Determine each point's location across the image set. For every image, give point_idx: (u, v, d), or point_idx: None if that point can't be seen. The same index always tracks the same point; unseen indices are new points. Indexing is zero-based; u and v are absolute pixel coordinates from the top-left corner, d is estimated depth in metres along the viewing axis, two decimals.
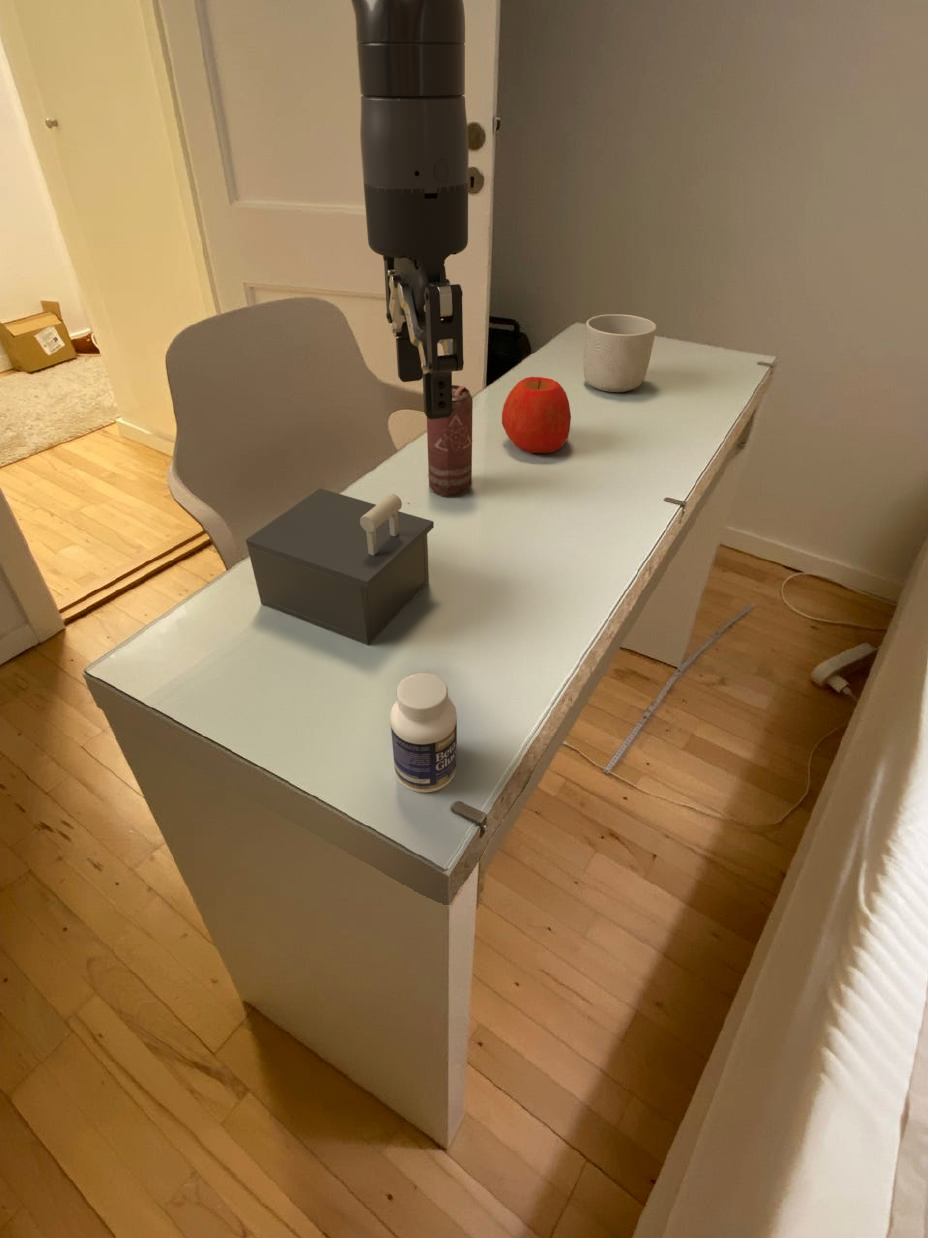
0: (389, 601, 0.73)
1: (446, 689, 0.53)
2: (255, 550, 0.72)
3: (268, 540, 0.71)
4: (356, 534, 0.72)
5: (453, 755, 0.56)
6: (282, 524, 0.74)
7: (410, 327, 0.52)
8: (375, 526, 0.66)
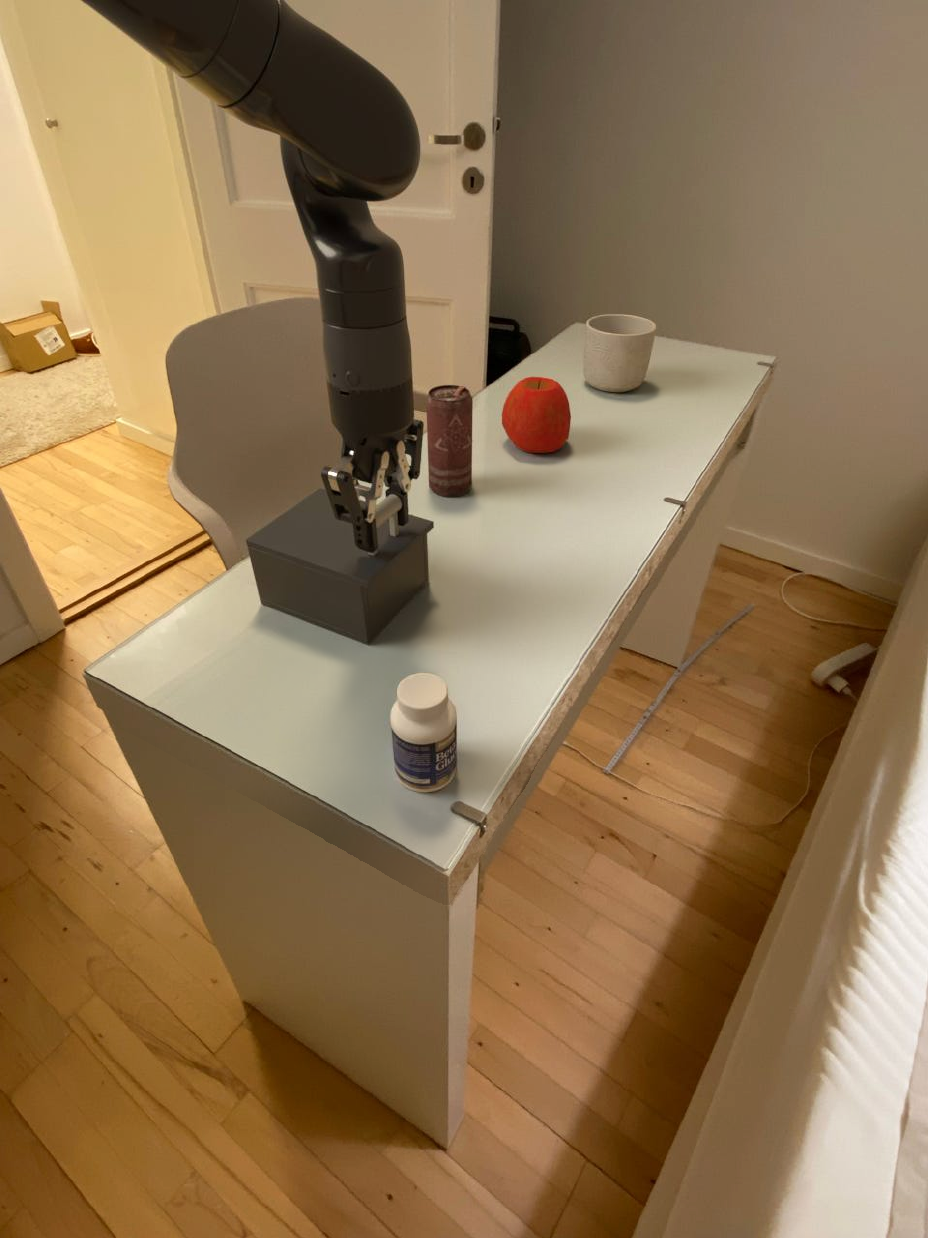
0: (389, 601, 0.73)
1: (446, 689, 0.53)
2: (255, 550, 0.72)
3: (268, 540, 0.71)
4: None
5: (453, 755, 0.56)
6: (282, 524, 0.74)
7: None
8: None
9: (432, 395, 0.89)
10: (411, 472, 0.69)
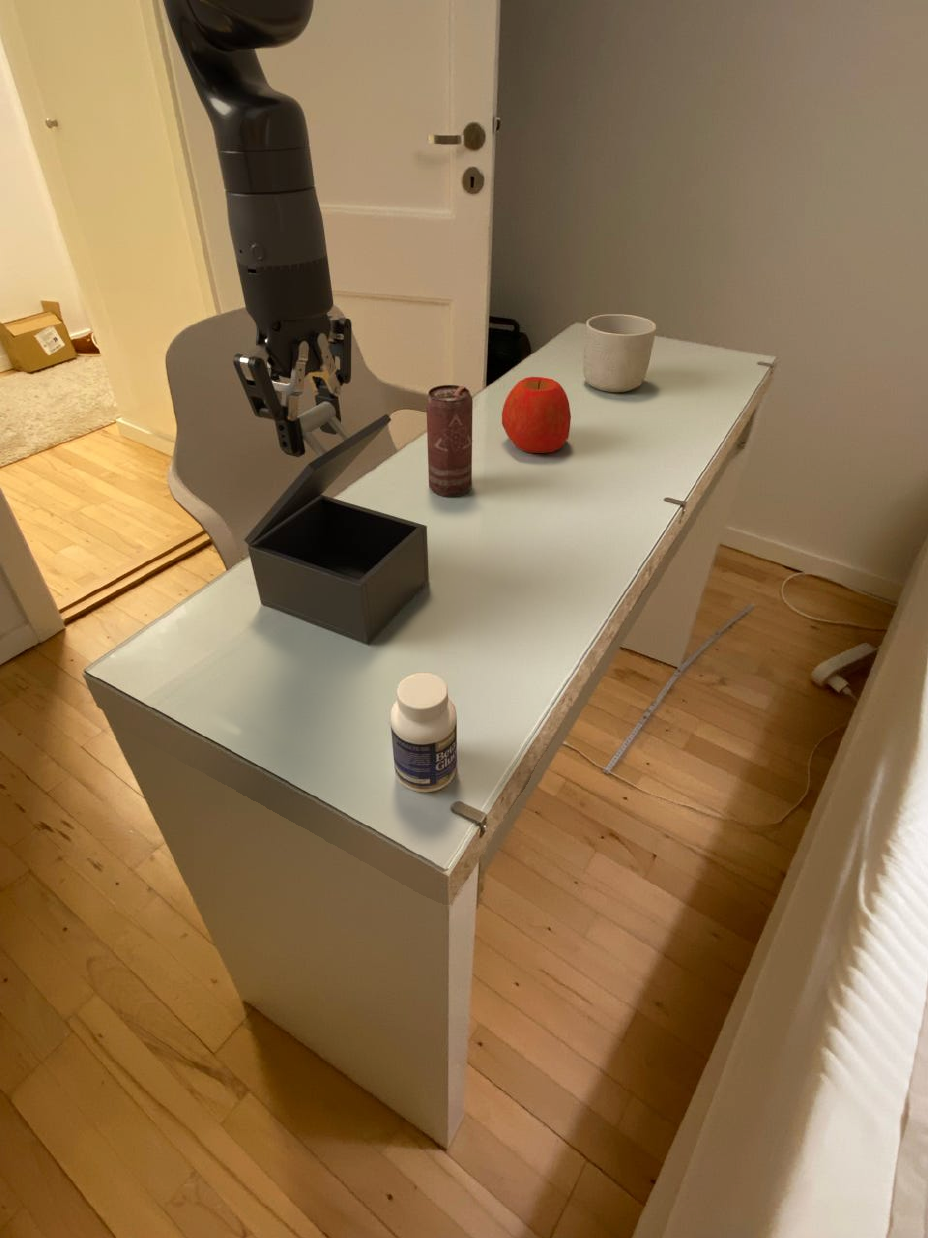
0: (389, 601, 0.73)
1: (446, 689, 0.53)
2: (255, 550, 0.72)
3: None
4: None
5: (453, 755, 0.56)
6: None
7: None
8: (301, 423, 0.63)
9: (432, 395, 0.89)
10: (341, 375, 0.67)
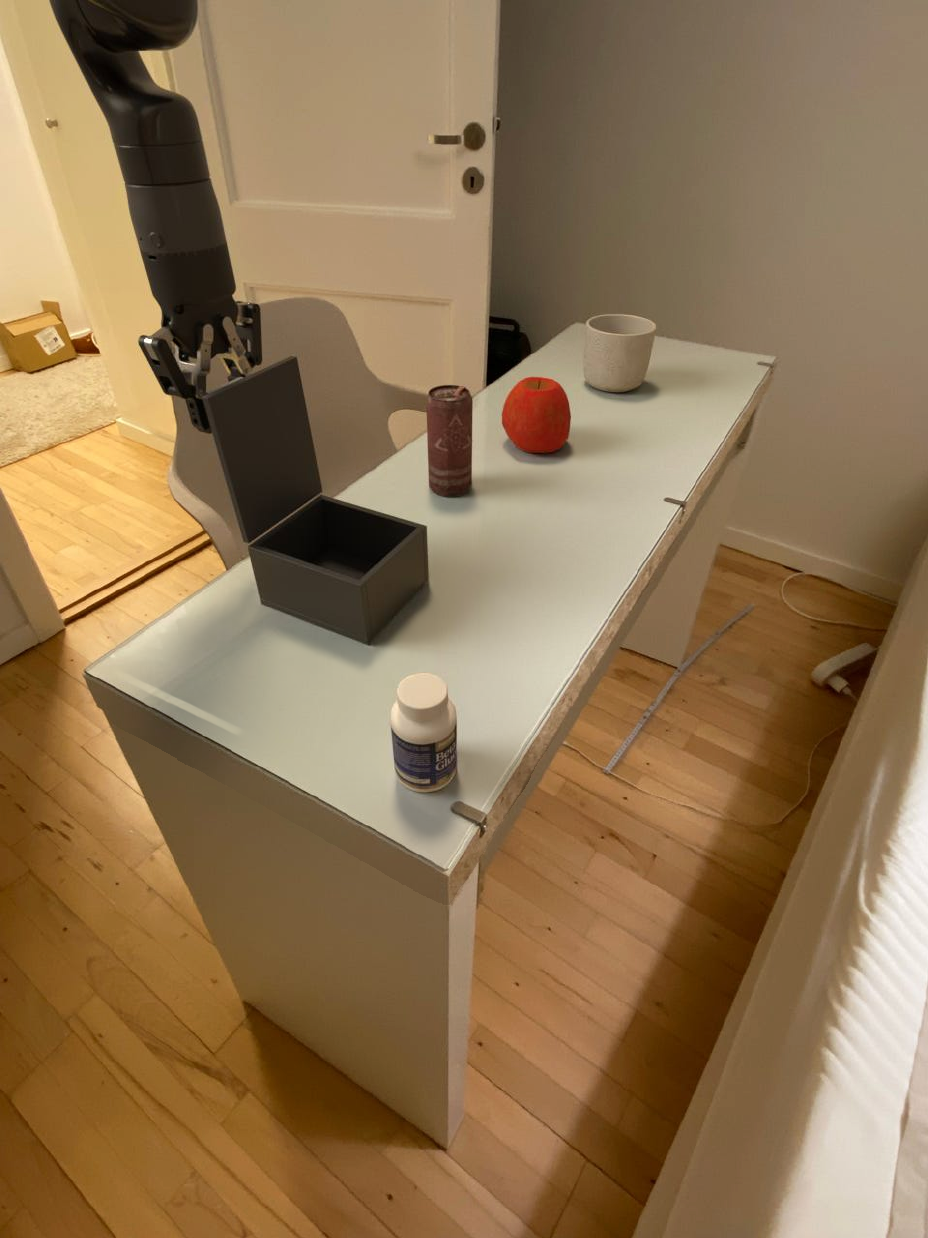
0: (389, 601, 0.73)
1: (446, 689, 0.53)
2: (255, 550, 0.72)
3: None
4: None
5: (453, 755, 0.56)
6: None
7: None
8: (208, 392, 0.67)
9: (432, 395, 0.89)
10: (251, 357, 0.71)
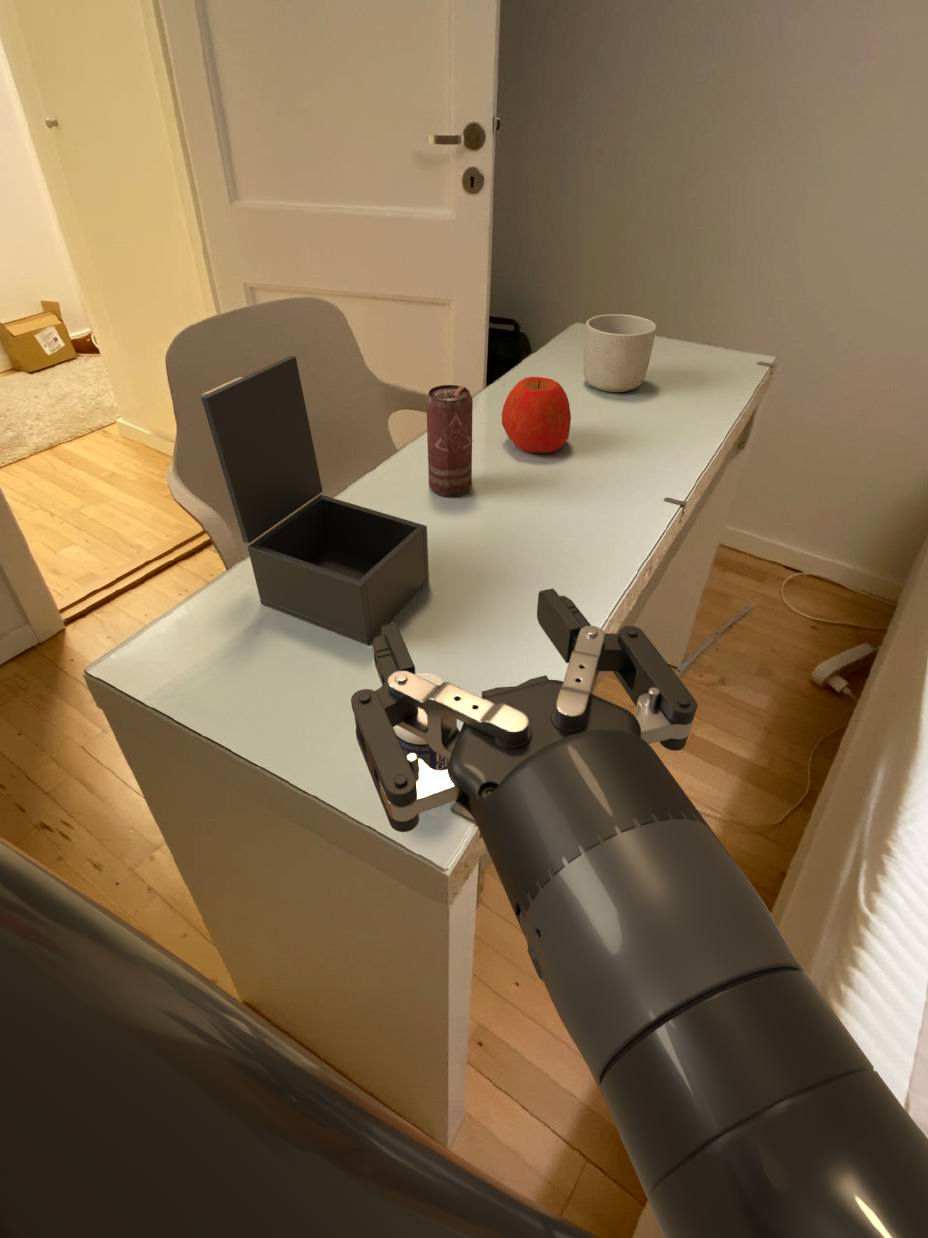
0: (389, 601, 0.73)
1: None
2: (255, 550, 0.72)
3: None
4: None
5: None
6: None
7: (455, 699, 0.29)
8: (207, 392, 0.67)
9: (432, 395, 0.89)
10: (618, 672, 0.34)
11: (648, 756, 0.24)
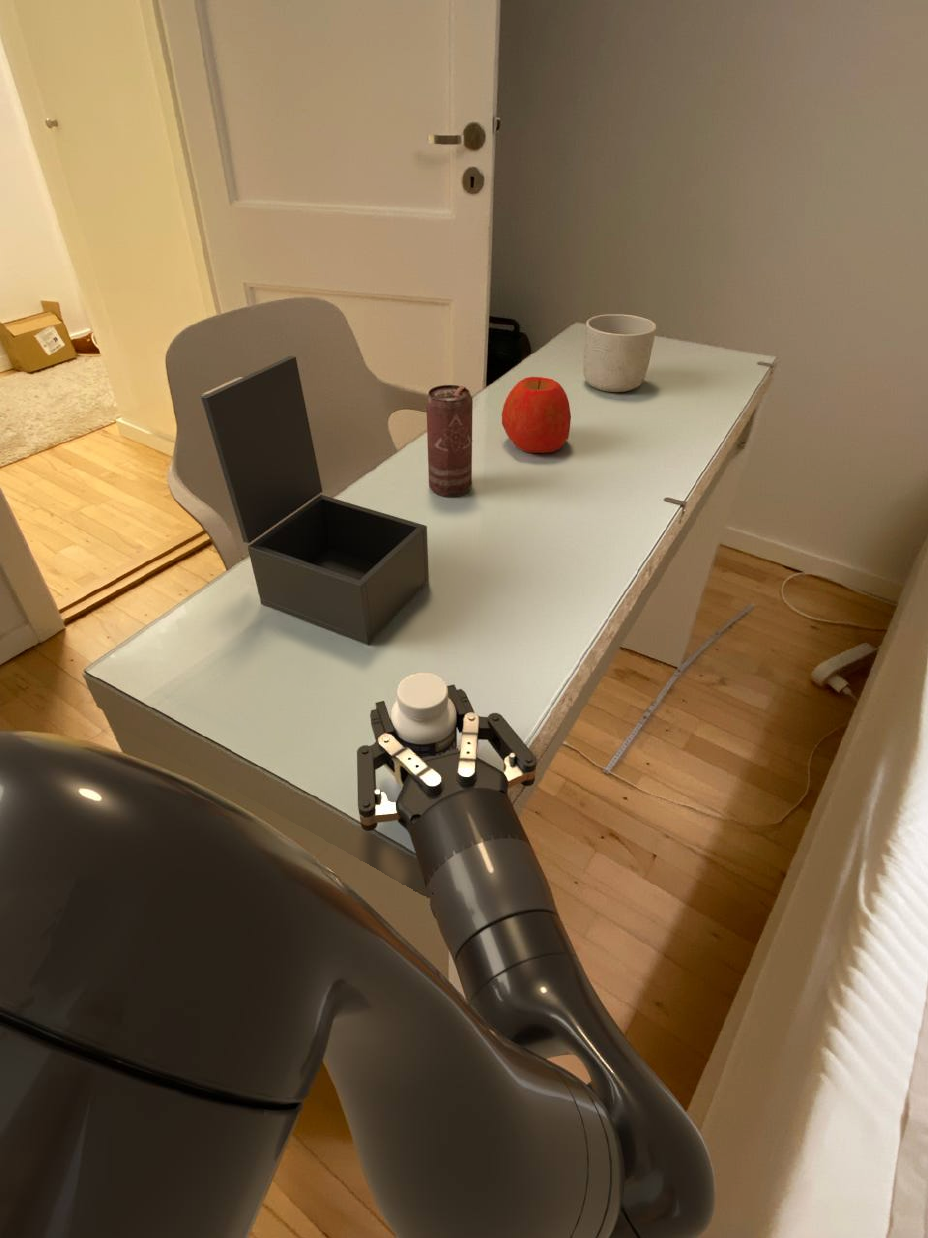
0: (389, 601, 0.73)
1: (446, 689, 0.53)
2: (255, 550, 0.72)
3: None
4: None
5: None
6: None
7: (408, 759, 0.50)
8: (207, 392, 0.67)
9: (432, 395, 0.89)
10: (489, 740, 0.55)
11: (499, 803, 0.46)
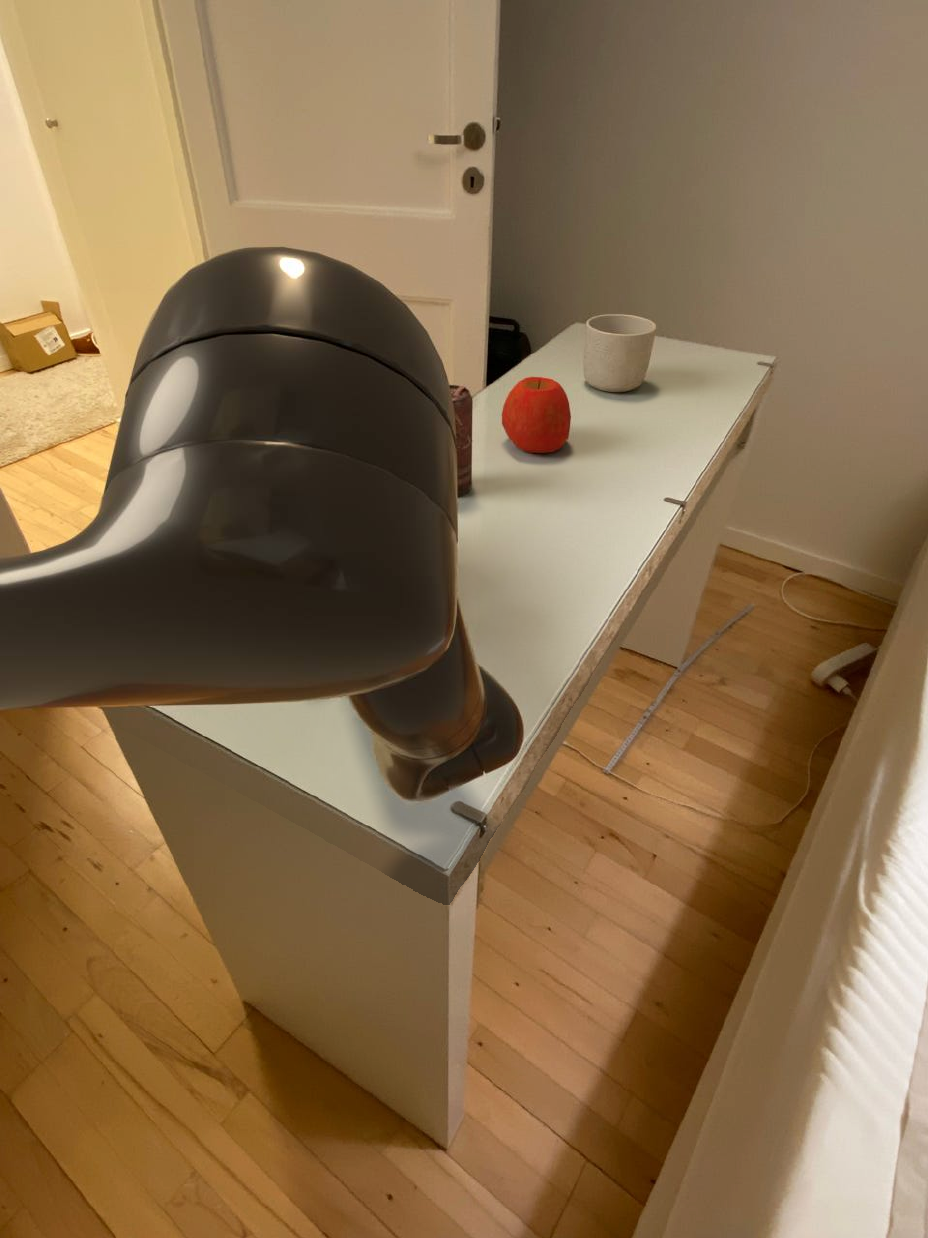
0: None
1: None
2: None
3: None
4: None
5: None
6: None
7: None
8: None
9: None
10: None
11: None
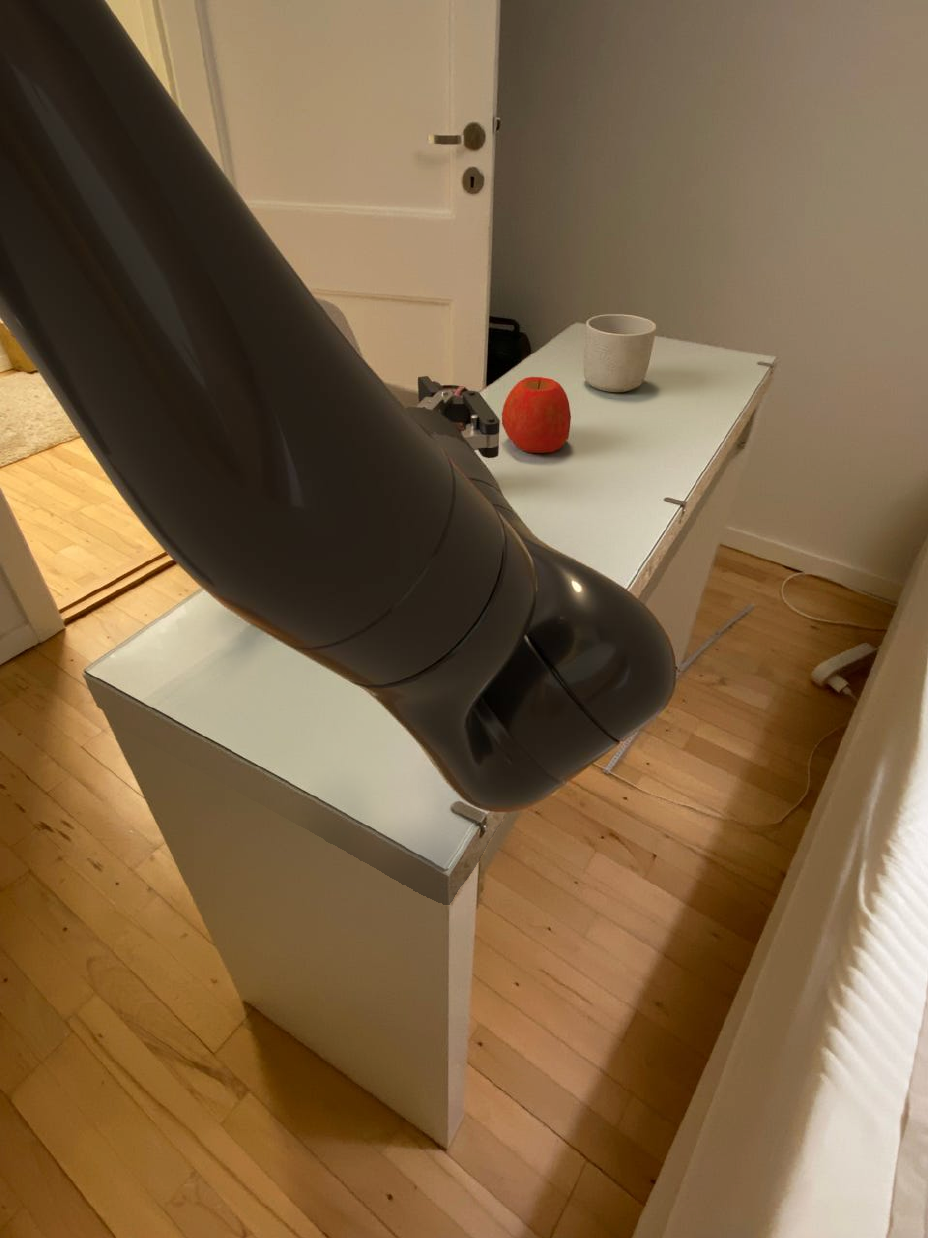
0: None
1: None
2: None
3: None
4: None
5: None
6: None
7: None
8: None
9: None
10: (465, 424, 0.49)
11: (447, 421, 0.40)
